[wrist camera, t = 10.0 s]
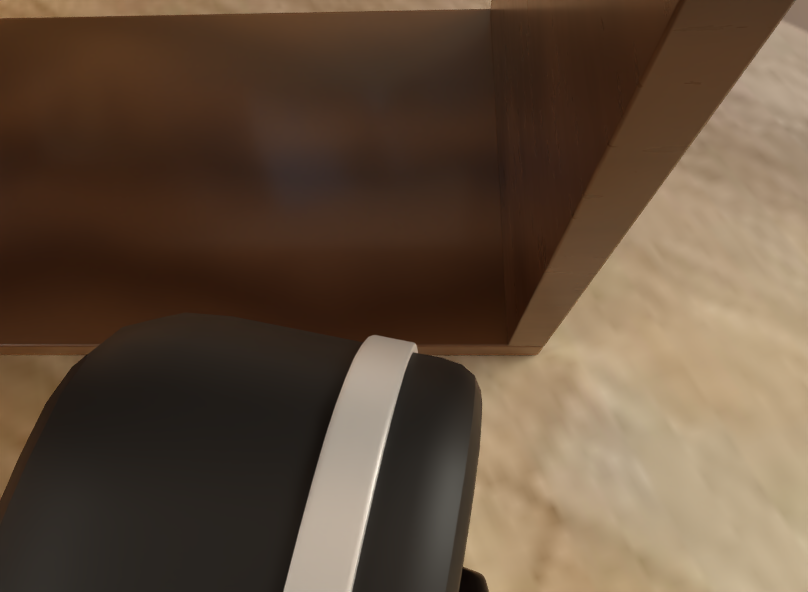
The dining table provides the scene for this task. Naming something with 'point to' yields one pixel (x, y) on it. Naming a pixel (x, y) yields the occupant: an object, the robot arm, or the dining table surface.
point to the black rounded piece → (245, 466)
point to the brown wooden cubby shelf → (345, 163)
